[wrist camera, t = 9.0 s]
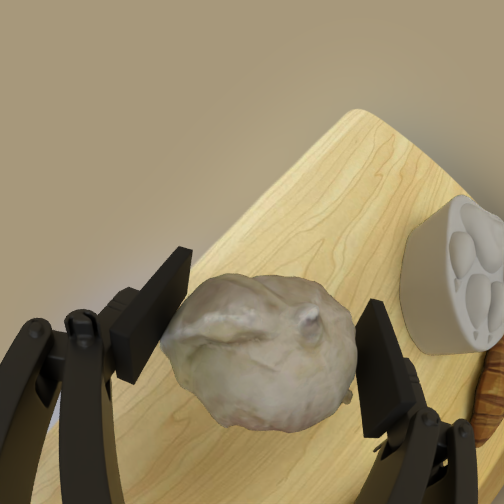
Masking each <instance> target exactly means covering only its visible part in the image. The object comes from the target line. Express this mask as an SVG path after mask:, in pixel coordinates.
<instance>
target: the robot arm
mask: <svg viewBox="0 0 504 504" xmlns="http://www.w3.org/2000/svg"><path fill="white" fill-rule="evenodd" d="M192 252H193V250H191V249H187V248H184V247H180V246H179V247H178V248H177V249H176V250H175V251H174V252H173V253H172V254H171V255H170V257H169V258H168V259H167V260H166V261H165V262H164V263H163V265H162V266H161V267H160V268H159V269H158V270H157V272H156V273H155V274H154V275H153V276H152V277H151V279H150V280H149V281H148V282H147V283H146V284H145V286H144V287H143V288H142V289H141V290H140V291H139V290H136V289H133V288H130V287H127V288H125V289H123V290H121V291H119V292H118V293H117V294H116V296H115V297H114V298H113V299H112V300H111V301H110V302H109V303H108V304H107V306H106V307H105V308H104V309H103V310H102V311H101V312H100V313H99V314H98V316H97V314H96V313H94V312H93V311H90V310H86V309H80V310H75V311H73V312H71V313H69V315H67V316H66V318H65V320H64V323H65V327H66V331H67V333H65V332H59V331H55V330H52V328H51V325H50V323H49V322H48V321H47V320H45V319H43V318H34V319H31V320H29V321H27V322H26V323H25V324H24V325H23V327H22V328H21V330H20V332H19V333H18V335H17V336H16V338H15V339H14V341H13V343H12V345H11V346H10V348H9V350H8V351H7V353H6V355H5V357H4V358H3V360H2V362H1V364H0V504H30V502H31V496H32V491H33V486H34V481H35V476H36V472H37V467H38V463H39V459H40V455H41V451H42V448H43V444H44V440H45V437H46V434H47V430H48V427H49V424H50V420H51V417H52V414H53V411H54V408H55V406H56V403H57V400H58V397H59V394H60V392H61V401H60V416H59V469H60V484H61V495H62V503H63V504H125V502H124V497H123V492H122V487H121V481H120V475H119V468H118V461H117V453H116V444H115V434H114V422H113V406H112V382H111V376H112V374H113V373H114V371H115V370H116V374H117V378H119V379H121V380H124V381H126V382H128V383H131V384H133V385H134V384H135V383H136V381H137V379H138V377H139V375H140V374H141V372H142V370H143V368H144V366H145V365H146V363H147V361H148V359H149V358H150V356H151V354H152V352H153V351H154V349H155V347H156V345H157V344H158V342H159V340H160V339H161V337H162V335H163V333H164V332H165V330H166V328H167V326H168V325H169V323H170V321H171V319H172V317H173V316H174V314H175V313H176V311H177V310H178V308H179V306H180V305H181V303H182V301H183V300H184V298H185V296H186V295H187V289H188V281H189V274H190V266H191V259H192ZM355 329H356V334H355V342H356V347H357V366H356V378H357V385H358V392H359V400H360V407H361V416H362V425H363V434H364V438H380V437H381V436H382V435H383V434H384V433H385V432H386V431H387V436H388V438H387V439H386V440H385V441H383V442H382V443H381V444H380V445H378V446H377V447H376V448H375V449H374V450H373V452H376V451H377V450H379V449H380V451H379V453H378V455H377V458H376V460H375V462H374V465H373V467H372V469H371V471H370V473H369V475H368V477H367V480H366V482H365V484H364V486H363V488H362V490H361V492H360V494H359V495H358V497H357V499H356V501H355V503H354V504H478V475H477V458H476V447H475V438H474V431H473V428H472V426H471V424H470V423H469V422H468V421H467V420H464V419H458V420H457V421H455V422H454V423H453V424H452V425H451V424H448V423H445V422H442V421H441V420H440V417H439V415H438V414H437V412H436V411H435V410H433V409H432V408H430V407H427V404H426V401H425V397H424V394H423V391H422V388H421V384H420V383H419V382H420V381H419V378H418V377H417V372H416V369H415V367H414V365H413V364H412V362H411V361H410V360H409V358H404V357H403V355H402V352H401V349H400V347H399V344H398V341H397V338H396V335H395V332H394V330H393V327H392V324H391V322H390V319H389V316H388V314H387V311H386V309H385V306H384V304H383V301H379V300H375V299H371V298H370V300H369V302H368V304H367V306H366V308H365V310H364V312H363V313H362V315H361V317H360V319H359V321H358V323H357V324H356V326H355ZM446 459H448V465H446V466H443V461H445V460H446Z"/></svg>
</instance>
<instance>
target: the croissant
mask: <svg viewBox="0 0 504 504" xmlns="http://www.w3.org/2000/svg"><path fill="white" fill-rule="evenodd" d="M503 418H504V335H503V336H502V338H501V339H500V340H499V341H498V342H497V343H496V344H495V345H494V346H493V347H492V348H490V349H489V350H488V352H487V355H486V358H485V362H484V368H483V371H482V374H481V376H480V380H479V382H478V385H477V388H476V393H475V401H474V410H473V415H472V418H471V422H470V424H471V426H472V428H473V431H474V438H475V447H476V448H479V447H481V446H482V445H483V444H484V443H485V442H486V441H487V440H488V439H489V438H490V437H491V436H492V434H493V433H494V432H495V430H496V429H497V427H498V426H499V424H500V423H501V421H502V420H503Z"/></svg>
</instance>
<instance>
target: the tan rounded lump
mask: <svg viewBox="0 0 504 504" xmlns="http://www.w3.org/2000/svg"><path fill="white" fill-rule="evenodd" d="M355 334H356V329H355V326H354V324H353V322H352V316H351V314H350V312H349V311H348V310H347V309H346V308H345V307H344V306H342V305H341V304H340V303H339V302H338V301H336V300H335V299H334V298H333V297H332V296H331V295H329V294H328V292H327V291H326V290H325V289H324V287H323V286H322V285H321V284H319V283H317V282H315V281H310V280H307V279H304V278H300V277H284V276H278V275H264V276H256V277H253V278H249V277H247V276H244V275H241V274H223V275H220V276H217V277H213V278H210V279H208V280H206V281H204V282H203V283H202V284H201V285H199V286H198V287H197V288H196V290H195V291H194V292H193V293H192V294H191V295H190V296H189V297H188V298H187V299H186V300H185V301H184V302H183V304H182V305H181V306H180V308H179V309H178V310H177V312H176V313H175V314H174V316H173V317H172V319H171V321H170V323H169V325H168V326H167V328H166V330H165V332H164V333H163V335H162V337H161V339H160V349H161V351H162V352H163V353H164V354H165V355H166V356H167V357H168V358H169V359H170V362H171V365H172V368H173V371H174V374H175V377H176V380H177V382H178V383H179V385H180V386H181V387H182V388H184V389H186V390H188V391H190V392H192V393H194V394H195V396H196V397H197V398H198V399H199V400H200V401H201V403H202V404H203V405H204V407H205V408H206V409H207V411H208V412H209V413H210V414H211V416H212V417H213V418H214V419H215V420H216V421H217V422H218V423H219V424H220V425H222V426H223V427H225V428H228V427H230V426H234V425H238V426H242V427H245V428H247V429H249V430H255V431H272V430H275V431H283V432H286V433H293V432H299V431H302V430H305V429H307V428H309V427H311V426H313V425H315V424H317V423H318V422H320V421H322V420H324V419H325V418H327V417H330V416H331V415H333V414H334V413H335V412H336V411H337V409H338V408H339V406H340V404H341V403H342V402H343V403H344V404H350V402H351V399H352V396H353V394H352V391H351V390H349V387H350V385H351V383H352V381H353V380H354V377H355V372H356V366H357V347H356V342H355Z"/></svg>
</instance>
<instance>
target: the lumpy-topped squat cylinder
mask: <svg viewBox="0 0 504 504" xmlns="http://www.w3.org/2000/svg"><path fill="white" fill-rule="evenodd" d="M399 296H400V303H401V308H402V312H403V317H404V320H405V324H406V327H407V330H408V332H409V334H410V336H411V338H412V340H413V341H414V343H415V344H416V346H417V347H418V348H419V349H420V350H421V351H422V352H423V353H425V354H428V355H449V354H463V353H475V352H483V351H486V350H489V349H490V348H492V347H493V346H494V345H495V344H496V343H497V342H498V341H499V340H500V339H501V338H502V336H503V335H504V222H503V221H502V220H501V219H500V218H499V217H498V216H496V215H494V214H492V213H489V212H487V211H486V210H484V209H483V208H481V207H480V206H479V205H478V204H477V203H476V202H475V201H473V200H472V199H471V198H469V197H467V196H465V195H458V196H456V197H454V198H453V199H451V200H450V201H449V202H448V203H446V204H445V205H444V206H443V207H441V208H440V209H439V210H438V211H436V212H435V213H434V214H433V215H431V216H430V217H429V218H428V219H426V220H425V221H424V222H423V223H421V224H420V225H419V226H417V227H416V228H415V229H414V230H412V232H411V233H410V235H409V237H408V239H407V243H406V247H405V252H404V257H403V262H402V269H401V277H400V288H399Z"/></svg>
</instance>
